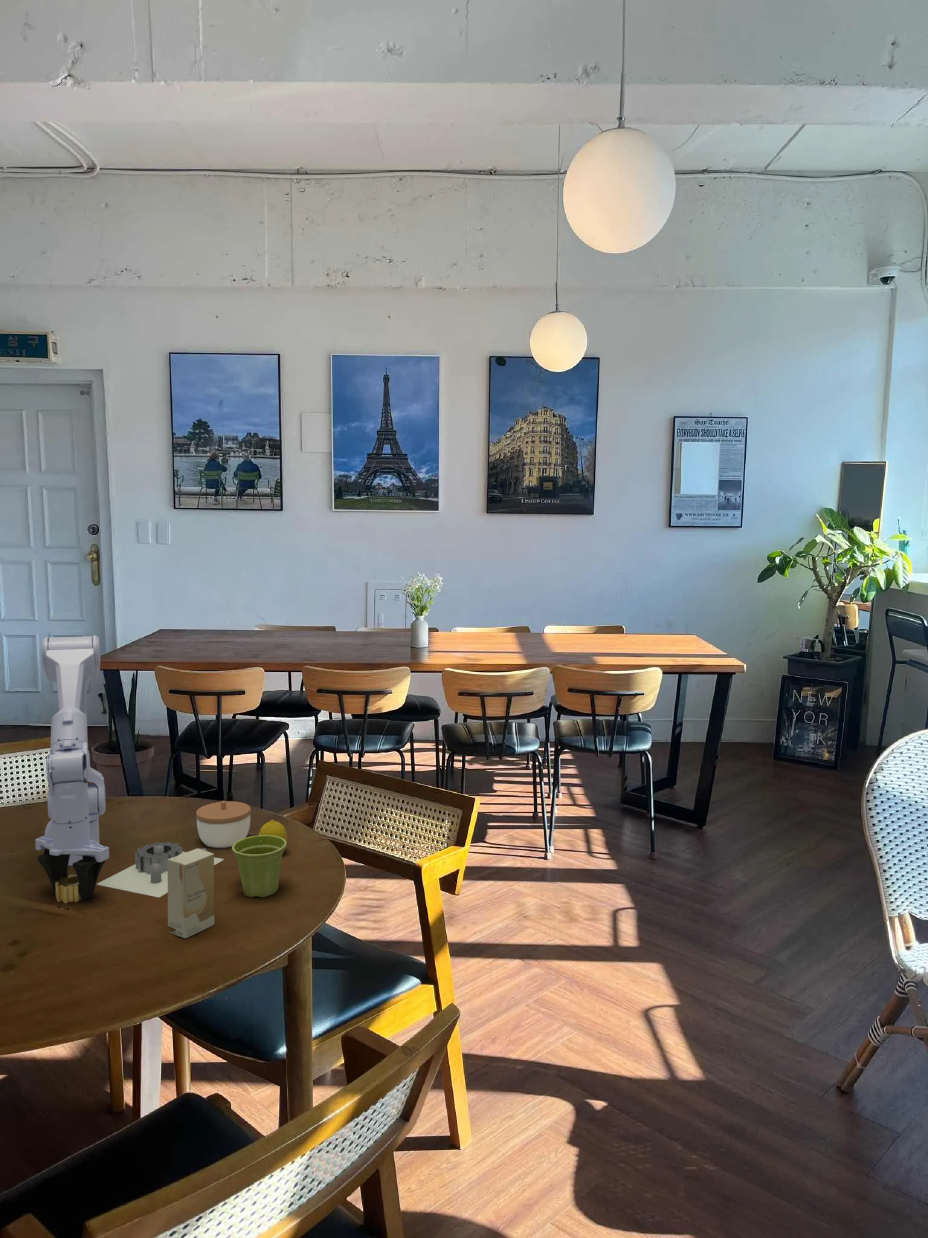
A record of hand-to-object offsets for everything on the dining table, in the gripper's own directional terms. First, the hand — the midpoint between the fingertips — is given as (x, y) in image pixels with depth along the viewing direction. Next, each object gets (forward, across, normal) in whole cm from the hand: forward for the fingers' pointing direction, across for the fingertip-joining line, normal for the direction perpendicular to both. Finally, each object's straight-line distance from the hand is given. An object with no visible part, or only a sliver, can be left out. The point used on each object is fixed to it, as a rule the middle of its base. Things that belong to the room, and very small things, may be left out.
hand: (73, 894), depth 144 cm
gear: (0, +4, +16) cm, 17 cm away
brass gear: (+1, 0, 0) cm, 1 cm away
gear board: (+1, +7, +14) cm, 16 cm away
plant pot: (+2, +27, +16) cm, 31 cm away
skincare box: (+2, +25, 0) cm, 25 cm away
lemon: (+2, +21, +29) cm, 36 cm away
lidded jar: (+2, +8, +31) cm, 32 cm away
